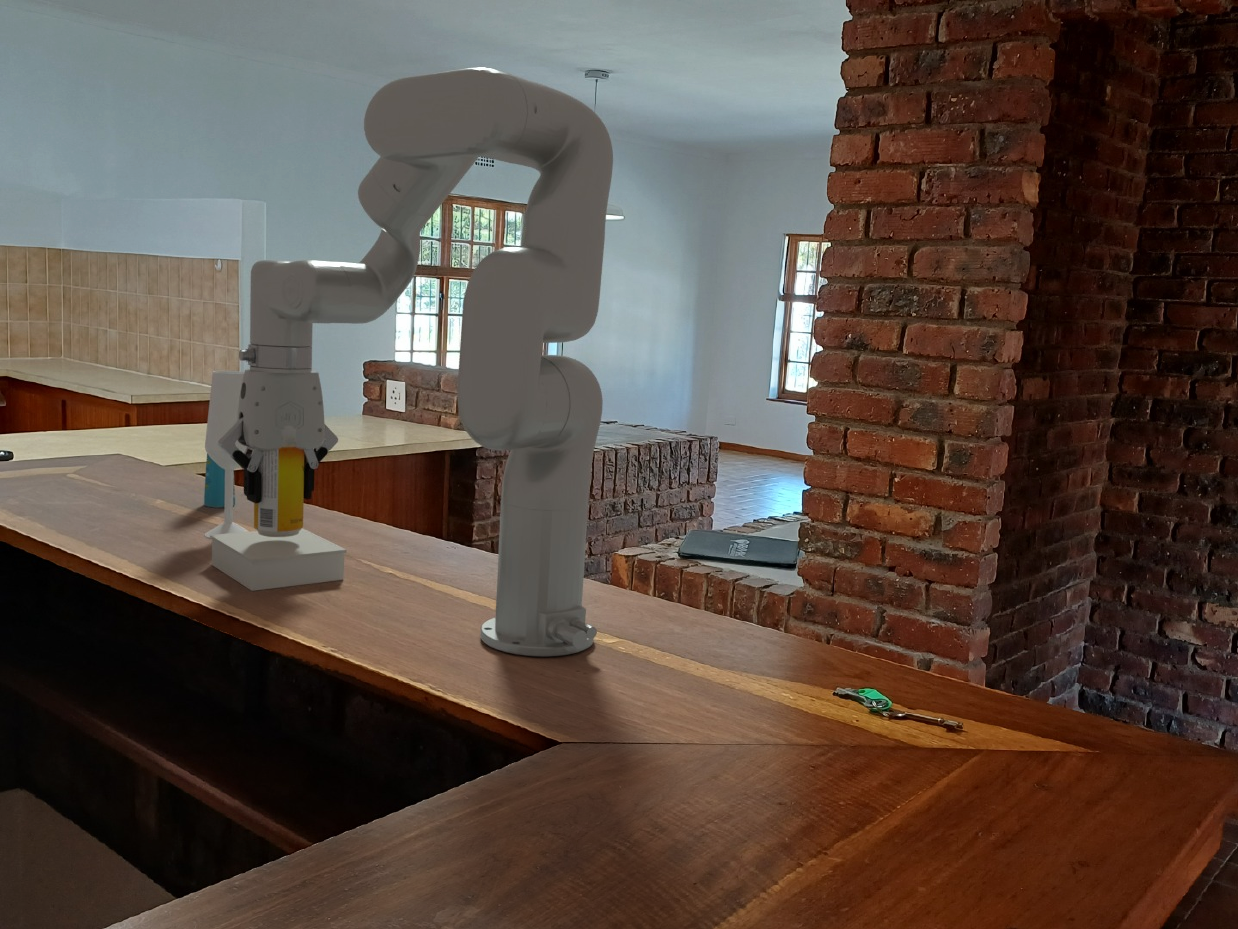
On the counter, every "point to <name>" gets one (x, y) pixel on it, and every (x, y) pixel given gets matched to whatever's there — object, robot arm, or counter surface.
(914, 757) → the counter surface
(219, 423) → the champagne flute
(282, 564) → the riser
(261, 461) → the beer can
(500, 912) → the counter surface
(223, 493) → the tube
